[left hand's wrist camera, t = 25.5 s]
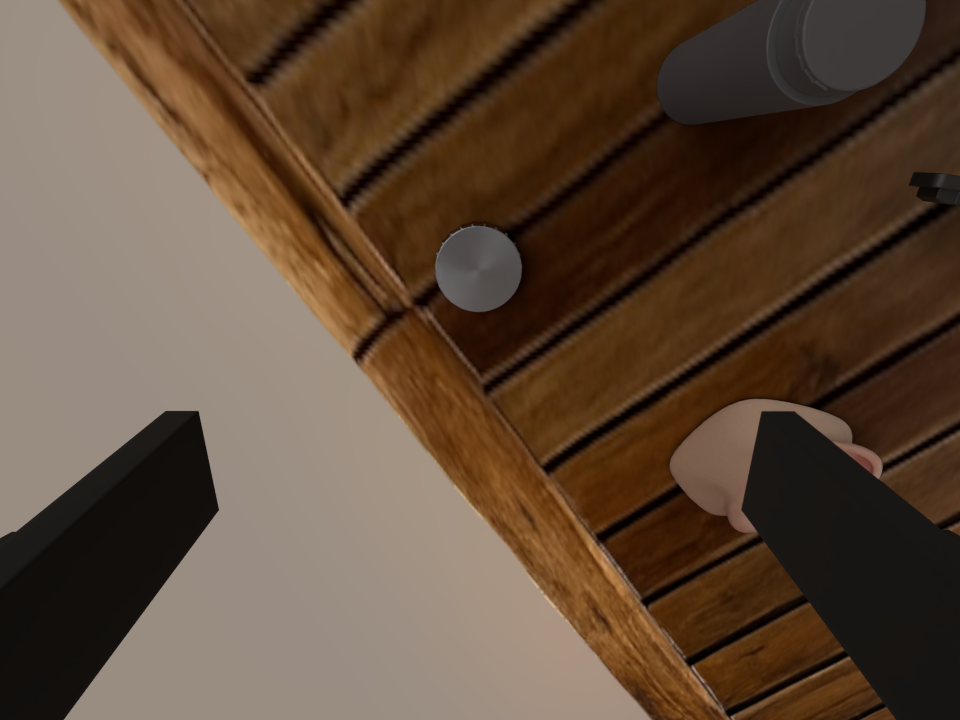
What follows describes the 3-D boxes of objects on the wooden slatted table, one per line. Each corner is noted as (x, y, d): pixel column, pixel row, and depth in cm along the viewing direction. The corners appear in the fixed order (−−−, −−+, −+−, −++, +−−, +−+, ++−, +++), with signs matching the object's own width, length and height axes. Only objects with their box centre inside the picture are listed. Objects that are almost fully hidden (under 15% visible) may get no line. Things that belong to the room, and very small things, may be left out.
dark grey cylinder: (686, 21, 32) (858, -92, 18) (751, 63, 33) (967, -11, 18) (641, 100, 34) (765, 57, 19) (704, 139, 35) (869, 126, 20)
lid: (492, 319, 39) (492, 328, 37) (421, 277, 38) (418, 284, 36) (536, 250, 37) (540, 255, 35) (463, 204, 36) (463, 207, 34)
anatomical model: (665, 519, 40) (751, 390, 36) (649, 488, 44) (726, 369, 40) (812, 575, 42) (909, 458, 38) (785, 541, 46) (871, 431, 42)
